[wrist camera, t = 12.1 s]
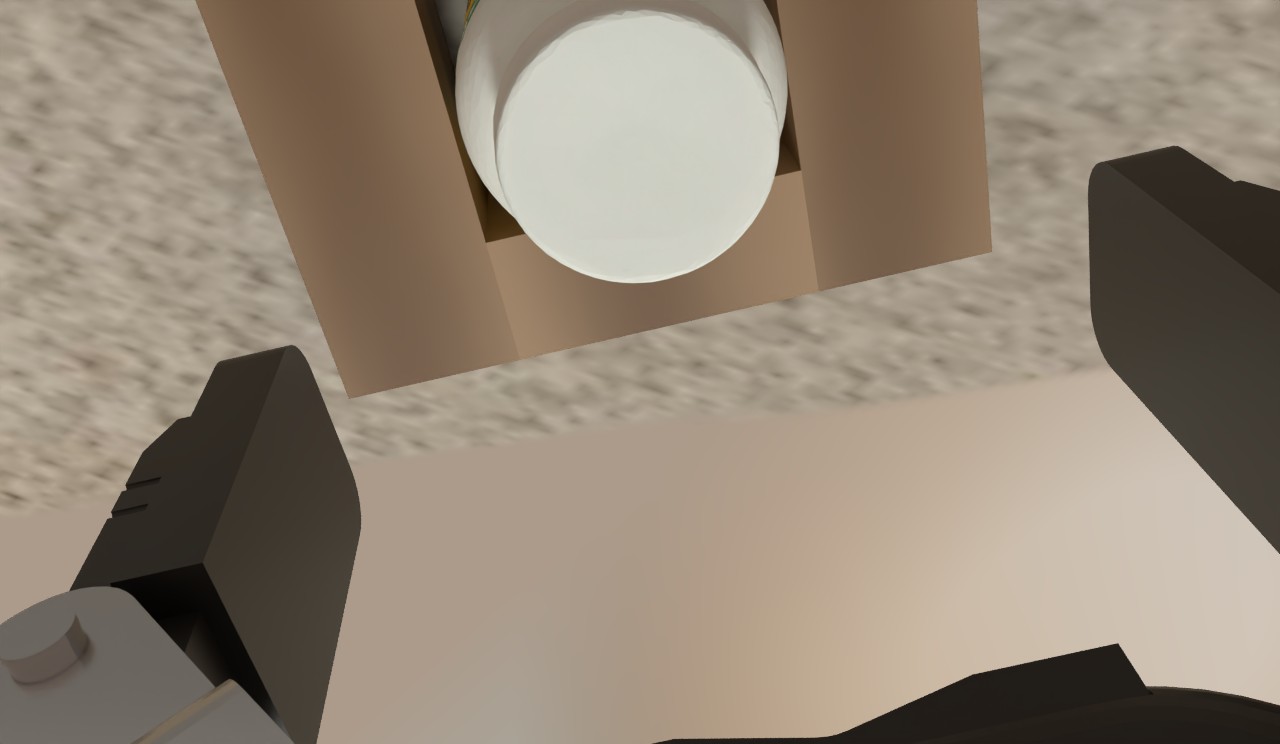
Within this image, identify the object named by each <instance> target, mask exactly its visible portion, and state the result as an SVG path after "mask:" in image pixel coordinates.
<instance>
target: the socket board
mask: <svg viewBox="0 0 1280 744" xmlns="http://www.w3.org/2000/svg"><path fill="white" fill-rule="evenodd" d="M763 1H764V3H765V4H766V6H767V8H768V10H769V12H770V14H771V16H772V18H773V21H774V23H775V25H776V28H777V31H778V34H779V37H780V40H781V43H782V47H783V52H784V56H785V62H786V70H787V94H788V95H787V105H786V113H785V119H784V124H783V129H782V132H781V136H780V143H779V158H778V165H777V169H776V173H775V177H774V180H773V183H772V187H771V190H770V192H769V195H768V197H767V199H766V201H765V203H764V205H763V207H762V209H761V210H760V212H759V214H758V215H757V217H756V218H755V220H754V221H753V223H752V224H751V225H750V226H749V228H748V229H747V230H746V231H745V232H744V234H743V235H742V236H741V237H740V238H739V239H738V240H737V241H736V242H735V243H734V244H733V245H732V246H731V247H730V248H729V249H727V250H726V251H725V252H723V253H722V254H720V255H719V256H718V257H716V258H715V259H714V260H712V261H710V262H709V263H707V264H705V265H703V266H702V267H700V268H698V269H695V270H693V271H691V272H689V273H686V274H682V275H679V276H676V277H673V278H670V279H665V280H661V281H656V282H646V283H621V282H612V281H606V280H602V279H598V278H594V277H591V276H589V275H585V274H582V273H580V272H578V271H575V270H573V269H571V268H569V267H567V266H565V265H563V264H561V263H560V262H558V261H557V260H555V259H554V258H552V257H551V256H549V255H548V254H546V253H545V252H544V251H543V250H542V249H541V248H540V247H539V246H537V245H536V244H535V243H534V242H533V241H532V239H531V238H530V237H529V236H528V235H527V234H526V233H525V232H524V230H523V229H522V227H521V226H520V225H519V223H518V222H517V220H516V219H515V218H514V217H513V216H512V215H511V214H510V213H509V212H508V211H507V210H506V209H505V208H504V207H503V206H502V205H501V204H500V203H499V202H498V201H497V199H496V198H495V197H494V196H493V195H492V194H491V192H490V191H488V188H487V187H486V186H485V184H484V183H483V181H482V179H481V178H480V176H479V174H478V173H477V171H476V169H475V167H474V165H473V164H472V161H471V159H470V157H469V155H468V152H467V149H466V147H465V144H464V141H463V138H462V135H461V130H460V126H459V122H458V116H457V109H456V97H455V86H456V77H455V73H454V70H453V66H452V63H451V59H450V56H449V52H448V49H447V45H446V42H445V38H444V35H443V31H442V28H441V24H440V21H439V17H438V14H437V10H436V7H435V3H434V0H196V2H197V5H198V8H199V10H200V13H201V15H202V18H203V21H204V23H205V26H206V28H207V31H208V34H209V36H210V39H211V41H212V44H213V47H214V49H215V52H216V54H217V57H218V60H219V62H220V65H221V67H222V70H223V73H224V75H225V78H226V80H227V83H228V86H229V88H230V91H231V93H232V96H233V99H234V101H235V104H236V106H237V109H238V112H239V114H240V117H241V119H242V122H243V125H244V127H245V130H246V132H247V135H248V138H249V140H250V143H251V145H252V148H253V151H254V153H255V156H256V158H257V161H258V164H259V166H260V169H261V171H262V174H263V177H264V179H265V182H266V184H267V187H268V190H269V192H270V195H271V197H272V200H273V203H274V205H275V208H276V210H277V213H278V215H279V218H280V221H281V223H282V226H283V228H284V231H285V234H286V236H287V239H288V241H289V244H290V247H291V249H292V252H293V254H294V257H295V260H296V262H297V265H298V267H299V270H300V273H301V275H302V278H303V280H304V283H305V286H306V288H307V291H308V293H309V296H310V299H311V301H312V304H313V306H314V309H315V312H316V314H317V317H318V319H319V322H320V325H321V327H322V330H323V332H324V335H325V338H326V340H327V343H328V345H329V348H330V351H331V353H332V356H333V358H334V361H335V364H336V366H337V369H338V371H339V374H340V377H341V379H342V382H343V384H344V387H345V390H346V392H347V395H348V397H349V399H350V398H355V397H359V396H364V395H368V394H372V393H377V392H381V391H385V390H390V389H394V388H399V387H403V386H407V385H412V384H416V383H420V382H425V381H429V380H433V379H438V378H442V377H447V376H451V375H455V374H460V373H464V372H468V371H473V370H477V369H482V368H486V367H490V366H495V365H499V364H503V363H508V362H512V361H517V360H521V359H525V358H530V357H534V356H538V355H543V354H547V353H552V352H556V351H560V350H565V349H569V348H573V347H578V346H582V345H587V344H591V343H595V342H600V341H604V340H608V339H613V338H617V337H622V336H626V335H630V334H635V333H639V332H643V331H648V330H652V329H657V328H661V327H665V326H670V325H674V324H678V323H683V322H687V321H692V320H696V319H700V318H705V317H709V316H713V315H718V314H722V313H727V312H731V311H735V310H740V309H744V308H748V307H753V306H757V305H762V304H766V303H770V302H775V301H779V300H783V299H788V298H792V297H797V296H801V295H805V294H810V293H814V292H818V291H823V290H827V289H832V288H836V287H840V286H845V285H849V284H853V283H858V282H862V281H867V280H871V279H875V278H880V277H884V276H888V275H893V274H897V273H902V272H906V271H910V270H915V269H919V268H923V267H928V266H932V265H936V264H941V263H945V262H950V261H954V260H958V259H963V258H967V257H971V256H976V255H980V254H985V253H989V252H992V242H991V226H990V209H989V193H988V177H987V161H986V144H985V128H984V112H983V96H982V79H981V63H980V47H979V31H978V14H977V0H763Z"/></svg>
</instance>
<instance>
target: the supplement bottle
mask: <svg viewBox="0 0 1280 744" xmlns="http://www.w3.org/2000/svg"><path fill="white" fill-rule="evenodd" d="M787 95H788V94H787V70H786V62H785V56H784V52H783V47H782V43H781V40H780V37H779V34H778V31H777V28H776V25H775V23H774V21H773V18H772V16H771V14H770V12H769V10H768V8H767V6H766V4H765V3H764V1H763V0H469V2H468V5H467V11H466V15H465V23H464V29H463V33H462V37H461V41H460V45H459V49H458V53H457V62H456V86H455V97H456V109H457V116H458V122H459V126H460V130H461V135H462V138H463V141H464V144H465V147H466V149H467V152H468V155H469V157H470V159H471V161H472V164H473V165H474V167H475V169H476V171H477V173H478V174H479V176H480V178H481V179H482V181H483V183H484V184H485V186H486V187H487V188H488V190H489V191H490V192H491V194H492V195H493V196H494V197H495V198H496V199H497V201H498V202H499V203H500V204H501V205H502V206H503V207H504V208H505V209H506V210H507V211H508V212H509V213H510V214H511V215H512V216H513V217H514V218H515V219H516V220H517V222H518V223H519V225H520V226H521V227H522V229H523V230H524V232H525V233H526V234H527V235H528V236H529V237H530V238H531V239H532V241H533V242H534V243H535V244H536V245H537V246H539V247H540V248H541V249H542V250H543V251H544V252H545V253H546V254H548V255H549V256H551V257H552V258H554V259H555V260H557V261H558V262H560V263H561V264H563V265H565V266H567V267H569V268H571V269H573V270H575V271H578V272H580V273H582V274H585V275H589V276H591V277H594V278H598V279H602V280H606V281H612V282H621V283H646V282H656V281H661V280H665V279H670V278H673V277H676V276H679V275H682V274H686V273H689V272H691V271H693V270H695V269H698V268H700V267H702V266H703V265H705V264H707V263H709V262H710V261H712V260H714V259H715V258H716V257H718V256H719V255H720V254H722V253H723V252H725V251H726V250H727V249H729V248H730V247H731V246H732V245H733V244H734V243H735V242H736V241H737V240H738V239H739V238H740V237H741V236H742V235H743V234H744V232H745V231H746V230H747V229H748V228H749V226H750V225H751V224H752V223H753V221H754V220H755V218H756V217H757V215H758V214H759V212H760V210H761V209H762V207H763V205H764V203H765V201H766V199H767V197H768V195H769V192H770V190H771V187H772V183H773V180H774V177H775V173H776V169H777V165H778V158H779V143H780V136H781V132H782V129H783V124H784V119H785V113H786V105H787Z"/></svg>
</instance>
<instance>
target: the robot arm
mask: <svg viewBox="0 0 1280 744" xmlns="http://www.w3.org/2000/svg"><path fill="white" fill-rule="evenodd" d="M1088 212H1089V257H1090V303H1091V316H1092V322H1093V327H1094V331H1095V335H1096V338H1097V341H1098V344H1099V347H1100V349H1101V352H1102V354H1103V356H1104V358H1105V359H1106V361H1107V363H1108V364H1109V365H1110V367H1111V368H1112V369H1113V370H1114V371H1115V372H1116V374H1117V375H1118V376H1119V377H1120V378H1121V379H1122V380H1123V381H1124V382H1125V383H1126V384H1127V386H1128V387H1129V388H1130V389H1131V390H1132V391H1133V392H1134V393H1135V394H1136V396H1137V397H1138V398H1139V399H1140V400H1141V401H1142V402H1143V403H1144V404H1145V406H1146V407H1147V408H1148V409H1149V410H1150V411H1151V412H1152V413H1153V414H1154V416H1155V417H1156V418H1157V419H1158V420H1159V421H1160V422H1161V423H1162V424H1163V425H1164V427H1165V428H1166V429H1167V430H1168V431H1169V432H1170V433H1171V434H1172V435H1173V436H1174V438H1175V439H1176V440H1177V441H1178V442H1179V443H1180V444H1181V445H1182V446H1183V447H1184V449H1185V450H1186V451H1187V452H1188V453H1189V454H1190V455H1191V456H1192V458H1193V459H1194V460H1195V461H1196V462H1197V463H1198V464H1199V465H1200V466H1201V467H1202V469H1203V470H1204V471H1205V472H1206V473H1207V474H1208V475H1209V476H1210V477H1211V479H1212V480H1213V481H1214V482H1215V483H1216V484H1217V485H1218V486H1219V487H1220V488H1221V490H1222V491H1223V492H1224V493H1225V494H1226V495H1227V496H1228V497H1229V498H1230V500H1231V501H1232V502H1233V503H1234V504H1235V505H1236V506H1237V507H1238V508H1239V509H1240V511H1241V512H1242V513H1243V514H1244V515H1245V516H1246V517H1247V518H1248V519H1249V521H1250V522H1251V523H1252V524H1253V525H1254V526H1255V527H1256V528H1257V529H1258V530H1259V531H1260V532H1261V534H1262V535H1263V536H1264V537H1265V538H1266V539H1267V540H1268V542H1269V543H1270V544H1271V545H1272V546H1273V547H1274V548H1275V549H1276V550H1277V551H1278V553H1279V554H1280V191H1278V190H1274V189H1271V188H1267V187H1263V186H1259V185H1256V184H1252V183H1248V182H1245V181H1241V180H1240V181H1236V182H1234V181H1232V180H1231V179H1229V178H1227V177H1226V176H1224V175H1223V174H1221V173H1220V172H1218V171H1217V170H1215V169H1214V168H1212V167H1211V166H1209V165H1207V164H1206V163H1204V162H1203V161H1201V160H1200V159H1198V158H1197V157H1195V156H1194V155H1192V154H1190V153H1189V152H1187V151H1186V150H1184V149H1183V148H1181V147H1179V146H1171V147H1166V148H1162V149H1157V150H1153V151H1149V152H1144V153H1140V154H1135V155H1131V156H1127V157H1122V158H1118V159H1113V160H1109V161H1105V162H1100V163H1098V164H1096V165H1095V167H1094V168H1093V170H1092V172H1091V175H1090V179H1089V187H1088ZM126 488H127V490H126V491H122V492H121V494H120V496H119V498H118V500H117V502H116V504H115V506H114V508H113V509H112V511H111V513H112V518H109V519H107V521H106V523H105V524H104V526H103V528H102V530H101V532H100V534H99V536H98V538H97V540H96V542H95V543H94V545H93V547H92V549H91V551H90V553H89V555H88V557H87V558H86V560H85V563H84V564H83V566H82V568H81V570H80V572H79V574H78V575H77V577H76V579H75V581H74V583H73V585H72V587H71V589H70V591H69V592H65V593H62V594H59V595H56V596H53V597H51V598H48V599H46V600H44V601H41V602H39V603H37V604H35V605H33V606H31V607H29V608H27V609H25V610H23V611H21V612H20V613H18V614H16V615H15V616H13V617H11V618H10V619H8V620H7V621H5V622H4V623H2V624H1V625H0V744H316V743H317V737H318V733H319V728H320V723H321V719H322V713H323V709H324V704H325V699H326V695H327V690H328V684H329V680H330V675H331V671H332V666H333V661H334V656H335V651H336V646H337V642H338V637H339V632H340V627H341V622H342V617H343V613H344V608H345V603H346V598H347V594H348V589H349V584H350V579H351V575H352V570H353V565H354V560H355V555H356V551H357V546H358V541H359V536H360V530H361V512H360V502H359V496H358V491H357V487H356V483H355V480H354V476H353V473H352V471H351V468H350V465H349V463H348V460H347V458H346V455H345V453H344V450H343V448H342V445H341V443H340V440H339V438H338V435H337V433H336V430H335V428H334V426H333V423H332V421H331V418H330V416H329V413H328V411H327V408H326V406H325V403H324V401H323V398H322V396H321V393H320V391H319V388H318V386H317V383H316V381H315V378H314V376H313V373H312V371H311V368H310V366H309V364H308V362H307V360H306V358H305V357H304V355H303V354H302V352H301V351H300V350H299V349H298V348H297V347H296V346H293V345H289V346H285V347H280V348H276V349H272V350H267V351H263V352H258V353H254V354H250V355H245V356H241V357H236V358H232V359H228V360H223V361H220V362H219V363H217V365H216V366H215V368H214V370H213V372H212V374H211V376H210V379H209V381H208V383H207V385H206V387H205V389H204V391H203V393H202V395H201V397H200V399H199V401H198V403H197V405H196V407H195V409H194V411H193V413H192V415H191V416H190V417H186V418H181V419H178V420H177V421H176V422H175V423H173V424H172V425H171V426H170V427H169V428H168V429H167V430H166V431H165V432H164V433H163V434H162V435H161V436H160V437H158V438H157V439H156V440H155V441H154V442H153V443H152V444H151V445H150V446H149V447H148V448H147V449H146V450H145V451H143V453H142V455H141V456H140V458H139V460H138V462H137V464H136V466H135V468H134V470H133V472H132V473H131V475H130V477H129V479H128V481H127V483H126ZM654 744H1280V705H1276V704H1272V703H1268V702H1264V701H1260V700H1256V699H1252V698H1248V697H1244V696H1239V695H1233V694H1227V693H1221V692H1215V691H1209V690H1203V689H1191V688H1177V687H1156V686H1154V687H1152V686H1151V687H1149V686H1145V685H1144V683H1143V681H1142V680H1141V678H1140V677H1139V675H1138V674H1137V672H1136V671H1135V669H1134V667H1133V666H1132V664H1131V663H1130V661H1129V660H1128V658H1127V656H1126V655H1125V653H1124V652H1123V650H1122V649H1121V647H1120V646H1119V644H1113V645H1108V646H1103V647H1099V648H1094V649H1090V650H1085V651H1080V652H1075V653H1071V654H1066V655H1062V656H1057V657H1052V658H1048V659H1044V660H1038V661H1034V662H1029V663H1024V664H1020V665H1015V666H1011V667H1006V668H1001V669H997V670H992V671H987V672H983V673H978V674H973V675H971V676H969V677H966V678H964V679H962V680H960V681H958V682H955V683H953V684H951V685H948V686H946V687H944V688H942V689H939V690H938V691H935V692H933V693H931V694H928V695H926V696H924V697H922V698H920V699H917V700H915V701H913V702H911V703H908V704H906V705H904V706H902V707H899V708H897V709H895V710H893V711H890V712H888V713H886V714H884V715H882V716H879V717H877V718H875V719H873V720H871V721H868V722H866V723H864V724H862V725H859V726H857V727H855V728H852V729H850V730H848V731H845V732H843V733H840V734H837V735H833V736H829V737H819V738H737V739H736V738H733V739H732V738H730V739H672V740H668V741H663V742H658V743H654Z"/></svg>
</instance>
